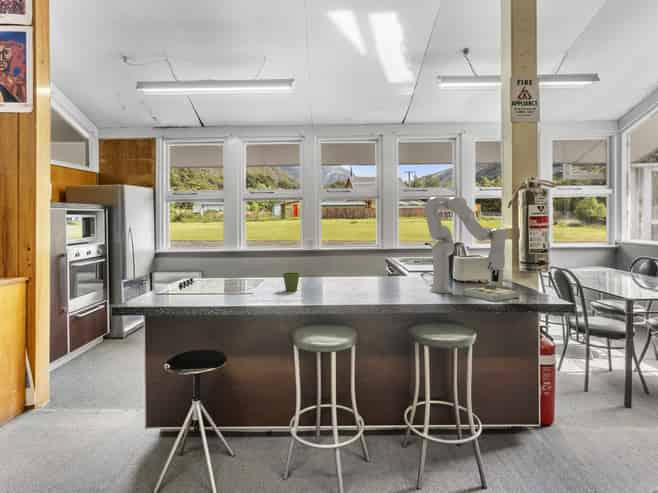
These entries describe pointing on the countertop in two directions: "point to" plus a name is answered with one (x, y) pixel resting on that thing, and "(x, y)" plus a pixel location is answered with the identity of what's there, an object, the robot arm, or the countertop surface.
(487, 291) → the birch plate
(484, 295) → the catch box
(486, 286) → the charcoal tile
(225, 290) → the countertop surface
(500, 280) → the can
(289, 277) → the plant pot
